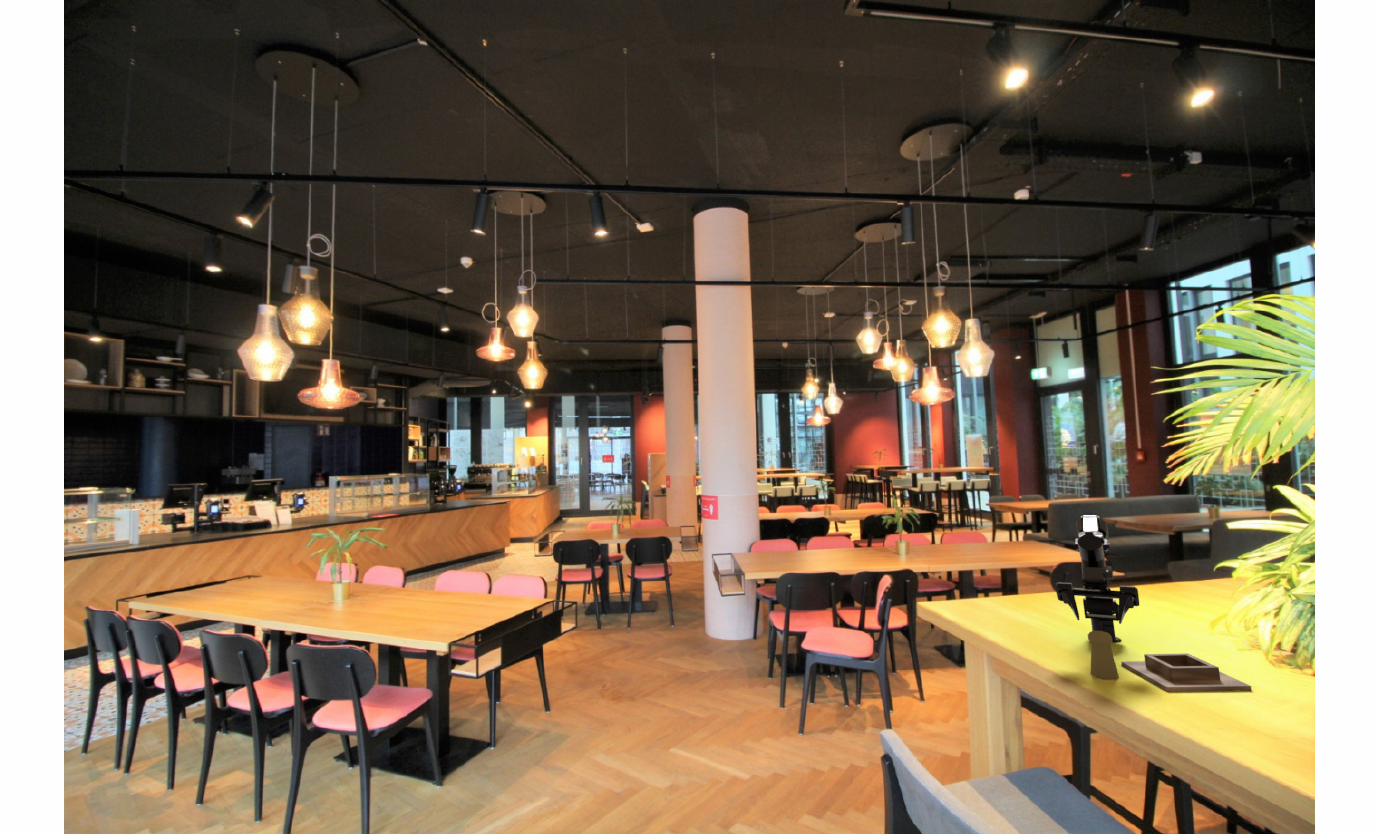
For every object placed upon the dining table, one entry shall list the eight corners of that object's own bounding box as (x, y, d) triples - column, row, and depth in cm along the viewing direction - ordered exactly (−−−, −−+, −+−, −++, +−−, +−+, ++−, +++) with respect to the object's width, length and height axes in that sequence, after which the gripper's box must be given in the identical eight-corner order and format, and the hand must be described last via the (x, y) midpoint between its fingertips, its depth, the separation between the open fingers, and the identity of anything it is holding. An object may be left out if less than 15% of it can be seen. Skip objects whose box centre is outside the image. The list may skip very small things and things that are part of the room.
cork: (1123, 679, 146) (1118, 635, 147) (1097, 679, 147) (1091, 635, 148) (1111, 671, 151) (1106, 628, 152) (1086, 671, 153) (1080, 628, 154)
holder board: (1121, 665, 155) (1119, 649, 155) (1195, 663, 153) (1193, 648, 153) (1167, 691, 137) (1165, 674, 138) (1251, 690, 135) (1249, 672, 135)
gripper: (1052, 553, 166) (1054, 601, 156) (1133, 556, 156) (1140, 607, 146) (1057, 576, 172) (1059, 623, 162) (1135, 580, 161) (1143, 631, 151)
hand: (1098, 621), depth 155 cm, fingers open, 9 cm apart
